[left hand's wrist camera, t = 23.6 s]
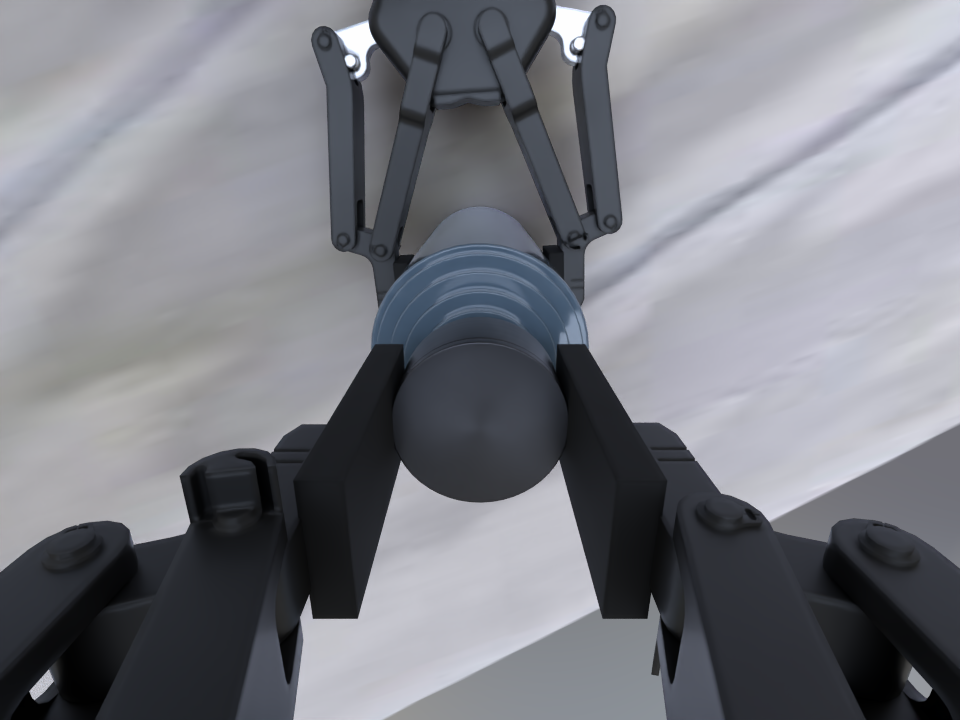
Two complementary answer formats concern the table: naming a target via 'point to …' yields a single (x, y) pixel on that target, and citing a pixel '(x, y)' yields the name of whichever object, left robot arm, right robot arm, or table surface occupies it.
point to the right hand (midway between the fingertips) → (485, 367)
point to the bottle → (479, 285)
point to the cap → (480, 411)
